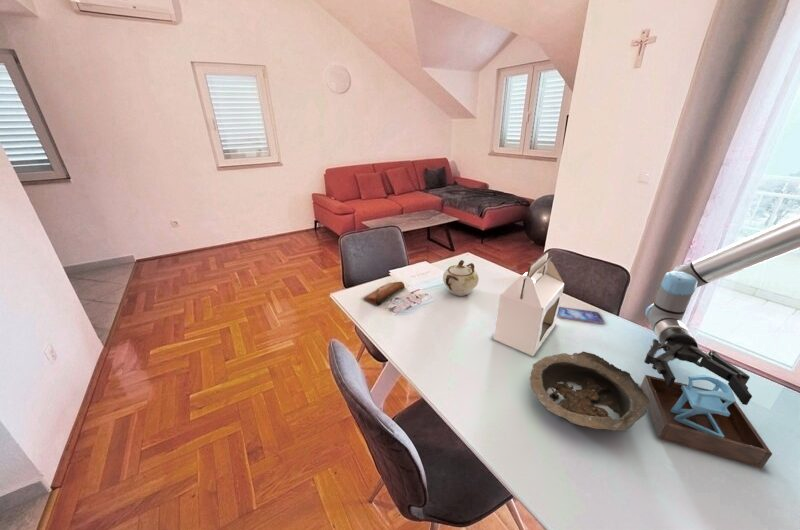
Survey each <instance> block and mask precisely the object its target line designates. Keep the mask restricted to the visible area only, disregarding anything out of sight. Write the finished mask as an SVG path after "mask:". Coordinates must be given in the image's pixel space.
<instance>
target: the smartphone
mask: <svg viewBox="0 0 800 530" xmlns="http://www.w3.org/2000/svg"><path fill="white" fill-rule="evenodd" d="M557 318H560V319H566V320H574V321H581V322H587V323H595V324H604V319H603V318H602V316H601V314H600V313H599V312H597V311H591V310H583V309H577V308H569V307H562V306H561V307H560V306H559V310H558V314H557Z"/></svg>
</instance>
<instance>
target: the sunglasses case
mask: <svg viewBox="0 0 800 530" xmlns="http://www.w3.org/2000/svg"><path fill="white" fill-rule="evenodd" d="M404 289H405V283H404V281H394V282H390V283H387V284H384V285H381V286H380V287H378V288H377V289H375V290H374V291H372V292H370V293H369V294H367V295H366V296H365V297H364V298H363V300H365V301H366V302H367V303H369V304H372V305H373V306H378V305H379V304H381V303H382V302H384V301H385V300H387V299H388V298H390V297H391V296H393V295H395V294H397V293H398V292H400V291H402V290H404Z"/></svg>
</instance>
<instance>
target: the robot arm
mask: <svg viewBox="0 0 800 530" xmlns="http://www.w3.org/2000/svg"><path fill="white" fill-rule="evenodd" d="M799 249H800V214H798V215H796V216H794V217H791V218H789V219H787V220H784V221H782V222H780V223H777V224H776V225H773V226H771V227H769V228H767V229H764V230H762V231H760V232H759V231H758V232H757V233H755V234H753V235H751V236H747V237H745V238H743V239H741V240H738V241H737V242H735V243H732V244H730V245H728V246H725V247H723V248H720V249H718V250H716V251H714V252H712V253H710V254H707V255H704V256H703V257H700V258H698V259H696V260H693V261H692V262H689V263H686V264H681V265H676V266H675V267H673V268H672V269H671V270H670V271H668V272H666V273H665V274H664V277H663V278H662V280H661V282H660V286H659V289H658V292H657V295H656V298H655V300H654V302H653V303H652V304H650V305H648V306H647V307H646V309H645V311H644V312H645V317H646V321H647V323H648V324H649V326H650V327H651V330H652V331H653V332H654V334H655V336H656V338H657V339H656V338H654V339H652V342H651V343H650V348H649V350H648V352H647V353H646V355H645V358H644V361H643V362H644V363H645V364H647V365H650V364H651V365H652V367H651V368H652V369H653V370H654V371H655V370H656V372H657V373H658V374H659V375H662V377H663V378H662V379H664V380H665V382H666V384H667V386H668V387H672V385H673V383H674V382H676V377H675V374H674V373H673V370H672V369H671V367H670V365H669V362H670V361H671V362H672V361H674V360H675V359H677V360H679V361H682V362H687V363H691V364H694V365H695V366H697V367H698V368H704V369H706V370H708V371H709V372H711V373H713V374H715V375H716V376H718V377H720V378H721V379H723V380H725V381H727V382H728V383H727V385H728V386H729V387H730V388H731V389H732V391H733V394H734V396H736V397H737V399H738V400H739V401H740V403H741V404H742V405H745V406H748V404H749V403H750V401H751V399H752V398H753V395H752V394H751V393H750V391H749V387H748V386H747V383H748V381H749V380H750V378H751V376H750V375H748V374H747V373H746V372H744V371H743V370H742V369H740V368H738V367H737V366H735V365H734V364H732V363H730V362H729V361H727V360H726V359H725V358H723V357H722V356H720V355H719V354H718V353H717V352H716V351H714V350H712V349H711V350H709V352H707V351H703V349H700V348H699V346H698V342H697V340H696V339H695V338H694V336H693V335H692V333H691V332H690V330H689V329H688V328H687V326H686V325H685V323H684V322H683V319H684V315H685V313H686V311H687V308H688V306H689V304H690V302H691V299H692V297H693V295H694V293H695V291H696V289H697V288H699V287H702V286H704V285H707V284H710V283H711V282H714V281H717V280H720V279H722V278H725V277H728V276H731V275H733V274H735V273H739V272H741V271H744V270H746V269H749V268H751V267H754V266H756V265H759V264H762V263H765V262H767V261H770V260H772V259H775V258H777V257H780V256H783V255H786V254H788V253H791V252H793V251H796V250H799ZM660 350H663V351H664V352H663V353H661V354H659V355H658V356H656V355H657V352H659V351H660Z"/></svg>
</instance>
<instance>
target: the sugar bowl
mask: <svg viewBox="0 0 800 530" xmlns="http://www.w3.org/2000/svg"><path fill="white" fill-rule="evenodd" d="M464 264H465V261H464V260H463V259H460V260H459V262H458V263H457V264H455V265H450V266H449V267H448V268H446V270H445V271H444V272H443V274H442V281H443V283H444V285H445V287H446V288H447V290H448V291H449V292H450V293H451V294H452V295H454V296H457V297H465V296H467V295H469V294H470V293H471V292H472V291H473V290H474V289H475V288H476V287H477V285H478V284H479V280H480V279H479V275H478V272H476V269H475V264H474V263H472V262H471V263H468V264H465V265H464Z"/></svg>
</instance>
